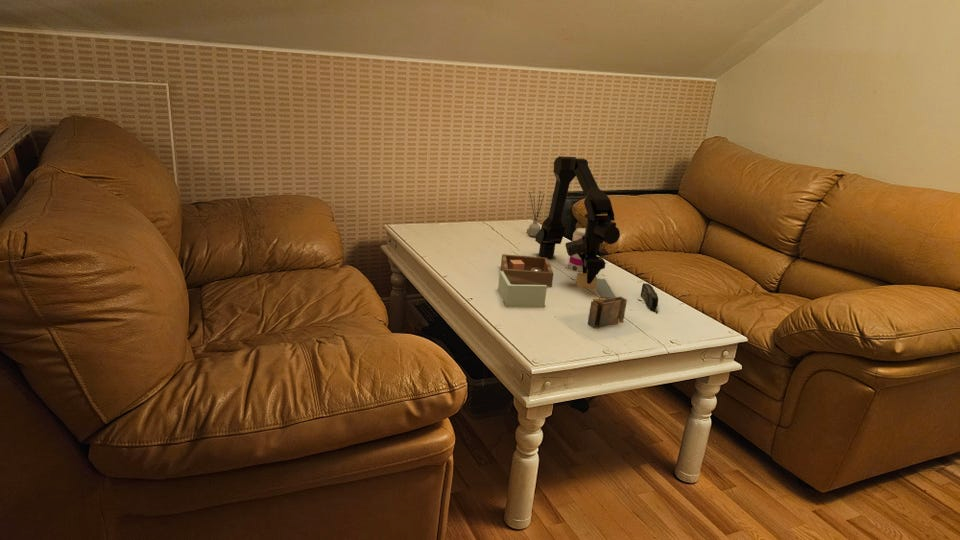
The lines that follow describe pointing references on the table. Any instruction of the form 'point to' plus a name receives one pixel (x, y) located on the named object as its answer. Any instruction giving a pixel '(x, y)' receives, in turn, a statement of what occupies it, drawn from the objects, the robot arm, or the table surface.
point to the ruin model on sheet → (607, 311)
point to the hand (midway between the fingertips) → (586, 279)
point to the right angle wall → (521, 293)
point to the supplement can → (575, 260)
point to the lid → (595, 285)
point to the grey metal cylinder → (536, 269)
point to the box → (528, 270)
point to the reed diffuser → (534, 221)
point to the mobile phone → (649, 296)
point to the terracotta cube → (516, 265)
